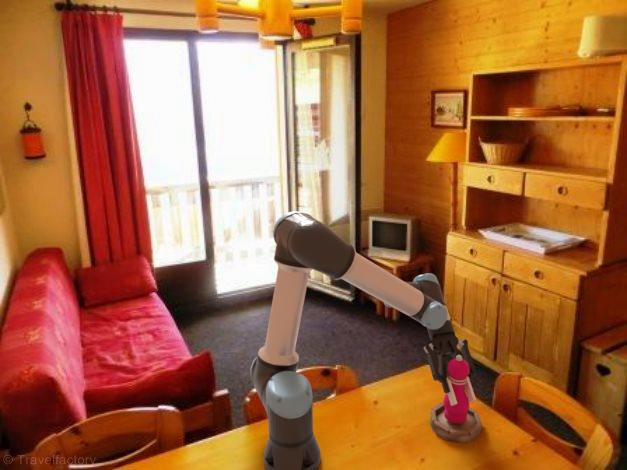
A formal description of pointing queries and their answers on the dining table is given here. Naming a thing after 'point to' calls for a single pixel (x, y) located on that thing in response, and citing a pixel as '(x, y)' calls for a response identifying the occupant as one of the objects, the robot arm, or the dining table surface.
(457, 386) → the pepper mill
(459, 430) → the bowl
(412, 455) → the dining table surface
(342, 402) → the dining table surface
